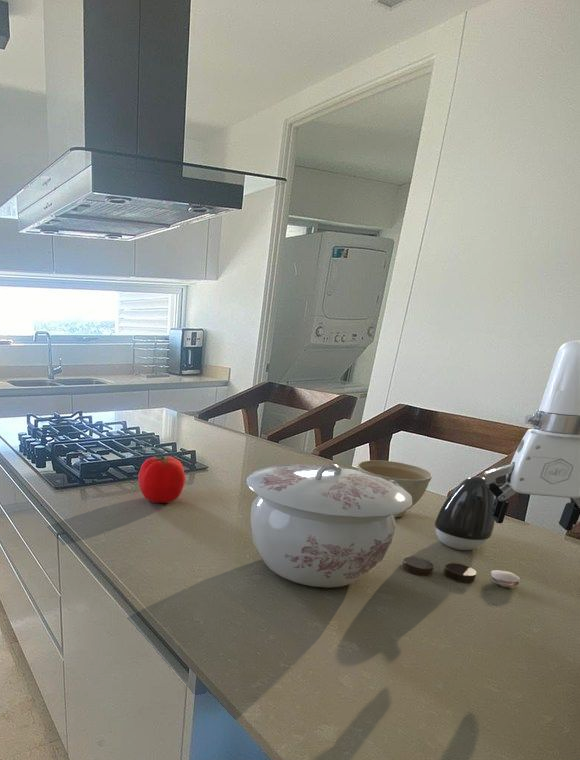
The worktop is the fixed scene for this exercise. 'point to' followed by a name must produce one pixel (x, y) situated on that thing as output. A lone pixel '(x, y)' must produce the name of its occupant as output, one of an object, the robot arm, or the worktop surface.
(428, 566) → the far disc
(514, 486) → the robot arm
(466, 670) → the worktop surface
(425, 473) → the planter bowl
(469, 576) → the middle disc
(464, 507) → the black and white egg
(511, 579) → the macaroon
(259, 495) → the chamber pot
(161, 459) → the tomato
